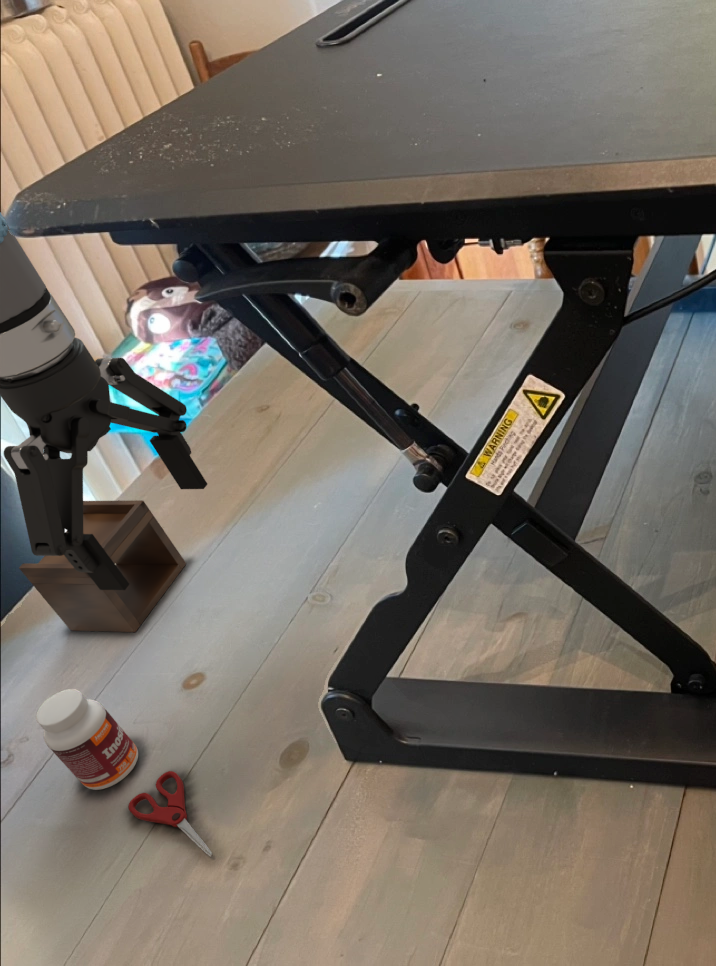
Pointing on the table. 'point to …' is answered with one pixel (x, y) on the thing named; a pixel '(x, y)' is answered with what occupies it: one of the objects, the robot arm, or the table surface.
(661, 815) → the table surface
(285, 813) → the table surface
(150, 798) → the scissors
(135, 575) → the shelf
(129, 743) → the pill bottle
